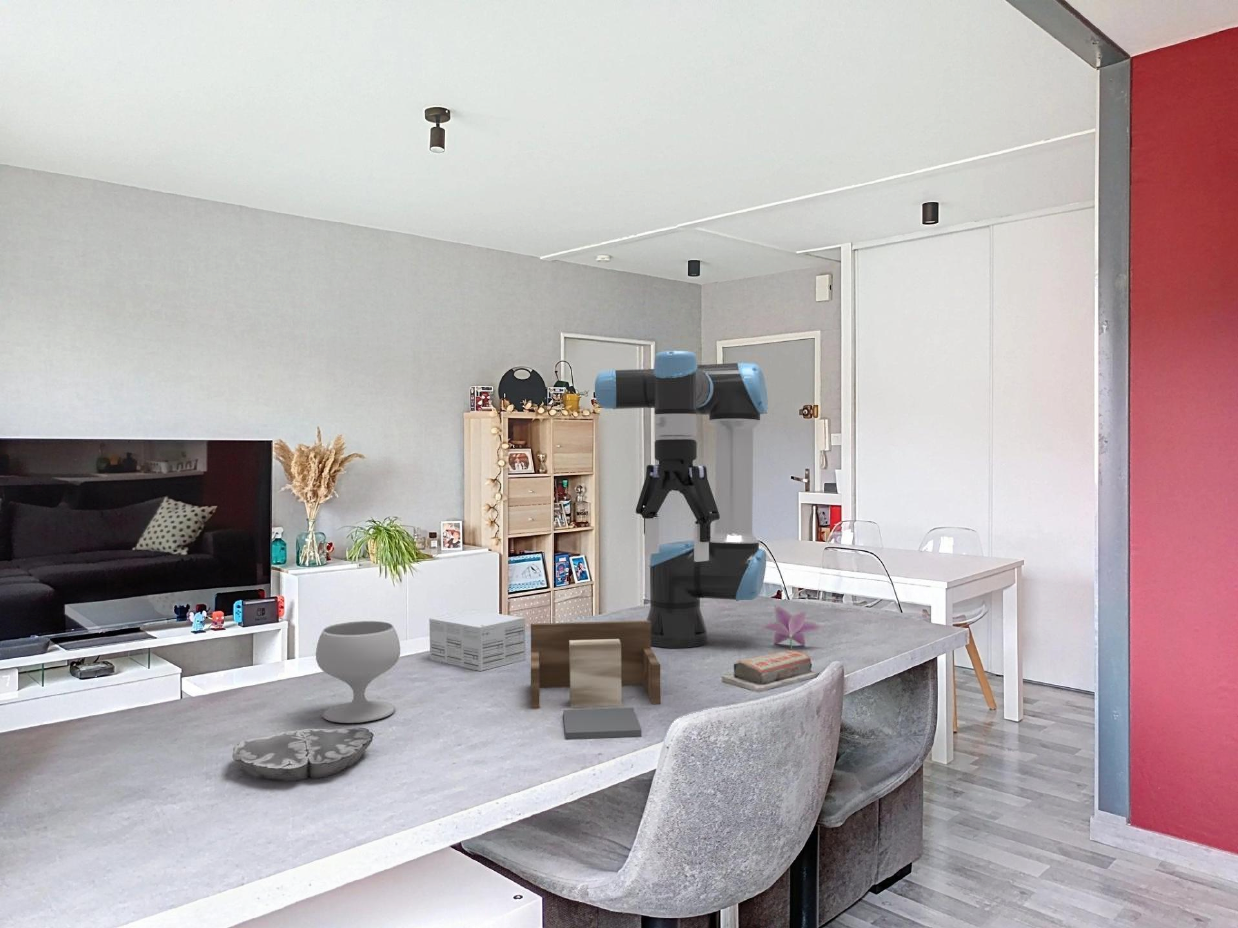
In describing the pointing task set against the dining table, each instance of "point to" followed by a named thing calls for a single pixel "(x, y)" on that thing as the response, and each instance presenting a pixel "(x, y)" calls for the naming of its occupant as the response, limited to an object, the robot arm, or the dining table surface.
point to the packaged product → (771, 671)
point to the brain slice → (302, 753)
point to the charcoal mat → (601, 723)
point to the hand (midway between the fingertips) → (675, 557)
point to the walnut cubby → (554, 639)
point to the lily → (790, 626)
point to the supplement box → (477, 639)
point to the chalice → (358, 665)
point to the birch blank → (595, 672)
